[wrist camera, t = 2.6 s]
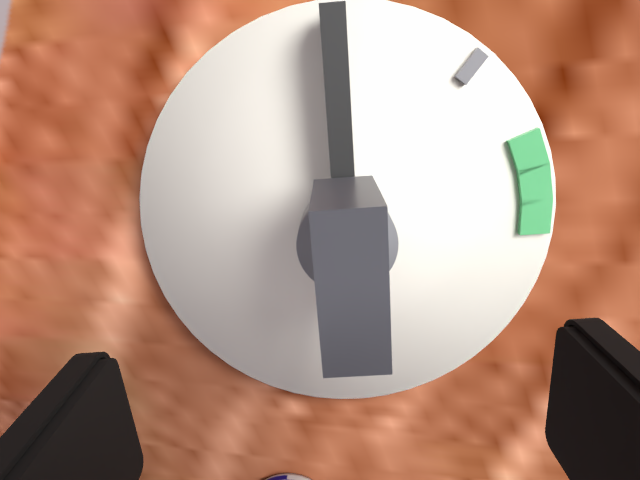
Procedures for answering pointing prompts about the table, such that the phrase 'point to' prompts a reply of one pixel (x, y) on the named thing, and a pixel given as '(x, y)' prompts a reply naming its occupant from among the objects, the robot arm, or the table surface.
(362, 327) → the tuning knob
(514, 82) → the tuner dial
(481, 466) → the table surface
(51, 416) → the robot arm
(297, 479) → the energy drink
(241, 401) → the table surface
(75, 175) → the table surface
